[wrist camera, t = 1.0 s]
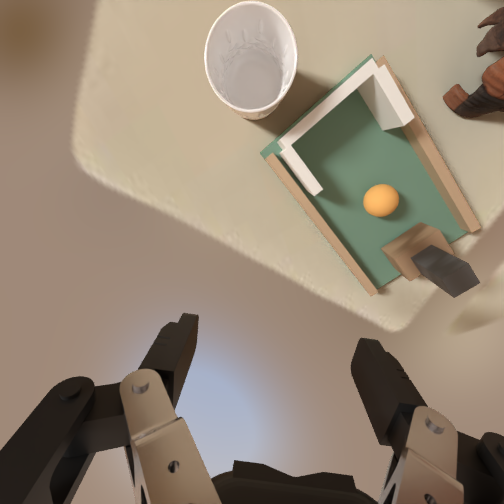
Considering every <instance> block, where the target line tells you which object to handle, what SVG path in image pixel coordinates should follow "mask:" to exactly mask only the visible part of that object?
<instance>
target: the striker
mask: <svg viewBox="0 0 504 504" xmlns="http://www.w3.org/2000/svg"><path fill="white" fill-rule="evenodd" d="M381 250H382V251H383V253H384V254H385V256H386V257H387V258H388V260H389V261H390V263H391V264H392V265H393V267H394V268H395V269H396V270H397V271H398V272H399V273H400V274H402V275H403V276H404V277H405V278H406V279H408V280H409V281H412V280H413V279H415V278H417V277H418V276H420V275H421V274H422V275H423V276H425V277H426V278H428V279H429V280H430V281H432V282H433V283H434V284H436V285H437V286H439V287H440V288H441V289H443V290H444V291H445V292H447V293H448V294H450V295H451V296H452V297H454V298H455V297H457V296H458V295H460V294H462V293H463V292H465V291H467V290H469V289H470V288H472V287H474V286H476V285H477V284H479V283H480V282H479V280H478V278H477V277H476V275H475V273H474V272H473V270H472V269H471V267H470V265H469V264H468V263H467V262H465V261H463V260H461V259H459V258H457V257H455V256H453V255H454V252H453V251H452V249H451V247H450V246H449V244H448V243H447V241H446V239H445V238H444V236H443V234H442V233H441V231H440V230H439V229H437V228H434V227H432V226H429V225H427V224H424V223H422V222H419V223H418V224H416V225H415V226H413V227H412V228H410V229H409V230H407V231H406V232H404V233H403V234H401V235H400V236H398V237H397V238H395V239H394V240H392V241H391V242H390V243H388V244H387V245H385V246H384V247H382V248H381Z"/></svg>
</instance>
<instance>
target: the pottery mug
mask: <svg viewBox="0 0 504 504" xmlns="http://www.w3.org/2000/svg"><path fill="white" fill-rule="evenodd" d="M487 25H495V26H494V27H492V28H491V29H490V30H489V31H488V32H487V34H486V35H485V37H484V39H483V40H482V41H481V42H480V43H479V44H478V46H477V57H481V56H483V55H484V54H486V53H487V52H494V51H504V7H502V8H499V9H498V10H497V11H495V12H494V13H493V14H491V15H490V16H489V17H487V18H486V19H485V20H483V21H482V22H481V23H480V24H479V25H478V28H482V27H484V26H487ZM482 82H483V84H482V85H481V86H479V88H478V89H477V90H476V91H475V92H474V93H473V94H471V95H469V94H468V93H466V92H465V91H464V90H463V89H462V88H461V86H460V85H459V84H456V85H454V86H453V87H452V88H451V89H450V91H448V92H447V93H446V94H445V95H444V96H443V99H444V101H445V103H446V104H447V105H448V107H450V108H451V109H452V110H454V111H455V112H456V113H458V114H460V115H461V116H465V117H469V118H473V117H478V116H481V115H484V114H488V113H492V112H495V111H502V112H504V57H502V58H501V59H500V60H498V61H497V62H495V63H494V64H492V65H491V66H489V67H488V68H487V69H486V71H485V72H484V73H483V76H482Z"/></svg>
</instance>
